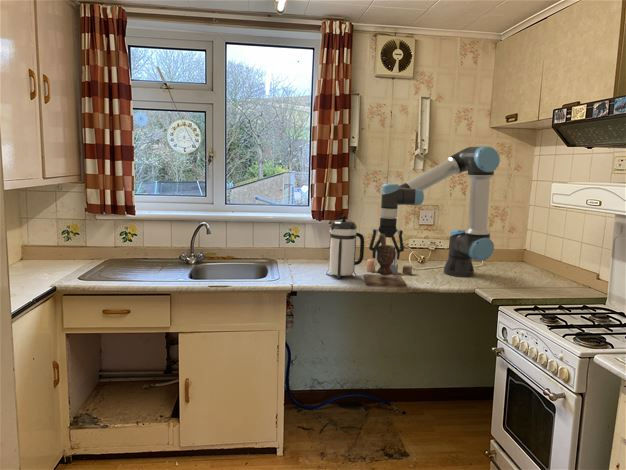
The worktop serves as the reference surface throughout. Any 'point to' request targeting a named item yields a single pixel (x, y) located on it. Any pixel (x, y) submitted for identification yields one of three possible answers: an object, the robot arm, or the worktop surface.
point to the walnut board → (384, 280)
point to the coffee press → (344, 248)
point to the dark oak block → (407, 270)
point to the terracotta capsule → (370, 265)
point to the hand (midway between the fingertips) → (385, 265)
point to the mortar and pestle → (385, 256)
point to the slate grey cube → (394, 268)
